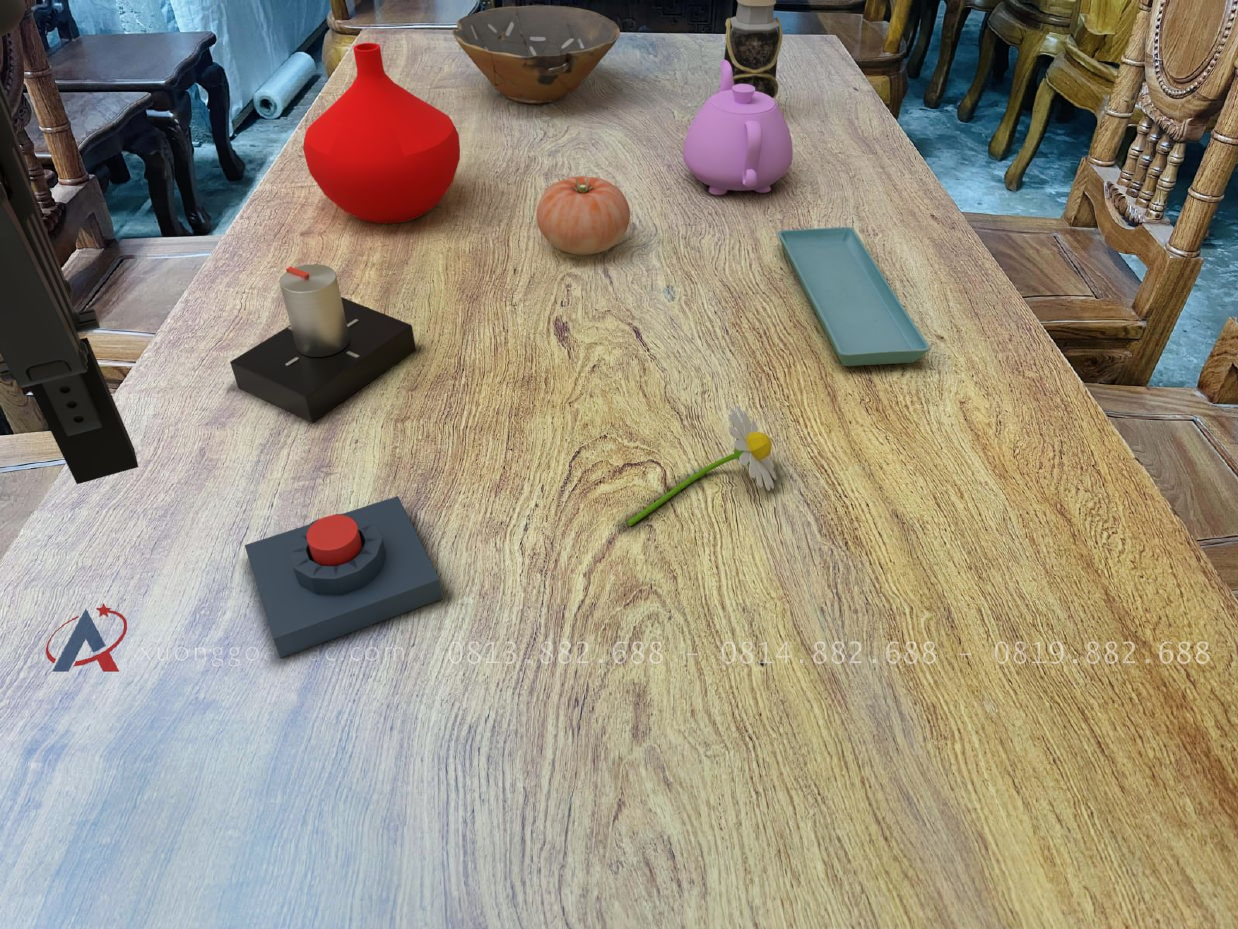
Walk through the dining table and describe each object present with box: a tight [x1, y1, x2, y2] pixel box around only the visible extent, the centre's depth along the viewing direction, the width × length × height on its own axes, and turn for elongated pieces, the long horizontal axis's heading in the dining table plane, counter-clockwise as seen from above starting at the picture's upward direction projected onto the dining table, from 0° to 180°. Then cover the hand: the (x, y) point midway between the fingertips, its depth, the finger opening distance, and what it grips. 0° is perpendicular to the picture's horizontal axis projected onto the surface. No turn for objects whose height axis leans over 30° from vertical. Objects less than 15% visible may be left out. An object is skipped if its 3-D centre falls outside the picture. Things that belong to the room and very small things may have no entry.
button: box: [307, 514, 362, 566], centre depth 69 cm, size 4×4×2 cm
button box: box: [244, 495, 444, 659], centre depth 70 cm, size 12×10×4 cm
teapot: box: [682, 59, 794, 196], centre depth 122 cm, size 20×14×12 cm
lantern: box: [723, 0, 783, 99], centre depth 133 cm, size 9×8×25 cm
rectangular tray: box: [777, 226, 931, 367], centre depth 101 cm, size 26×9×2 cm, turn 6°
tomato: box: [536, 175, 631, 256], centre depth 109 cm, size 11×11×8 cm
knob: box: [279, 263, 350, 357], centre depth 88 cm, size 5×5×7 cm
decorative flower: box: [626, 405, 777, 527], centre depth 78 cm, size 8×6×15 cm
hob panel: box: [229, 296, 417, 424], centre depth 91 cm, size 14×10×3 cm
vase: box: [302, 42, 461, 224], centre depth 112 cm, size 18×18×19 cm
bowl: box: [452, 4, 621, 105], centre depth 144 cm, size 25×25×10 cm
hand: (106, 466), depth 45 cm, fingers closed
